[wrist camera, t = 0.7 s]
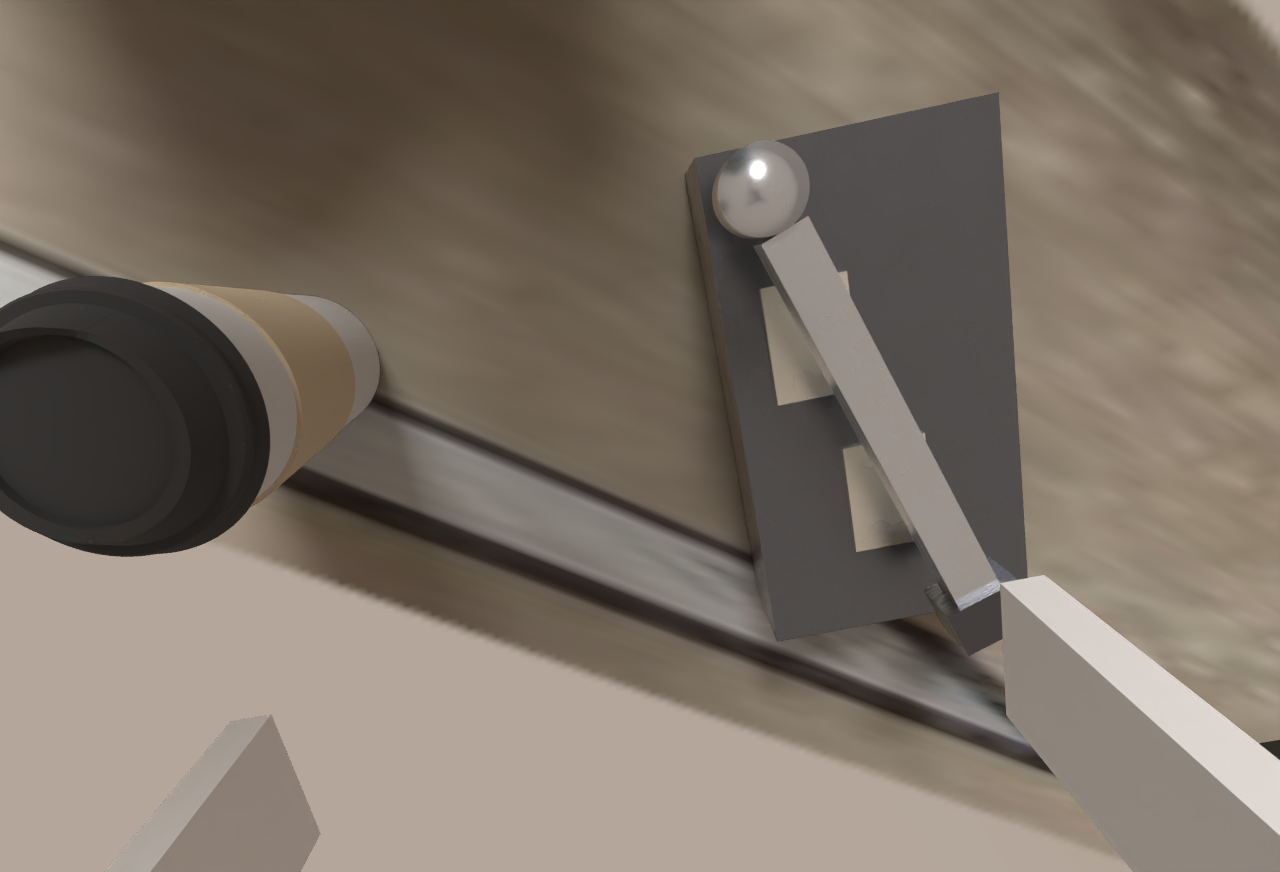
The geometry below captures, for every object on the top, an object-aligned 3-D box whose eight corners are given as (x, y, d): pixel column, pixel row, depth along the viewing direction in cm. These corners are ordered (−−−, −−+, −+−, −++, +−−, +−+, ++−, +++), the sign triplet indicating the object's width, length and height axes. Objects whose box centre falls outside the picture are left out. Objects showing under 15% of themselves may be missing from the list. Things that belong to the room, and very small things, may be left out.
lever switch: (685, 174, 31) (702, 145, 23) (940, 119, 31) (1043, 71, 23) (759, 597, 37) (792, 686, 29) (975, 556, 36) (1068, 635, 29)
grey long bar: (696, 181, 24) (702, 172, 22) (769, 133, 23) (783, 120, 21) (943, 626, 28) (969, 655, 26) (1007, 592, 28) (1039, 620, 26)
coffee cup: (425, 429, 34) (271, 553, 20) (258, 468, 34) (-14, 617, 20) (367, 251, 32) (144, 242, 17) (189, 294, 32) (-175, 322, 18)
